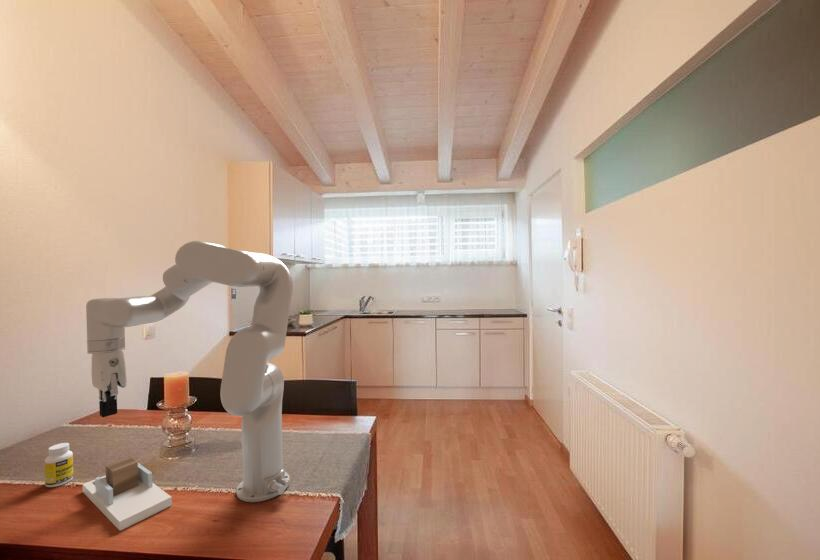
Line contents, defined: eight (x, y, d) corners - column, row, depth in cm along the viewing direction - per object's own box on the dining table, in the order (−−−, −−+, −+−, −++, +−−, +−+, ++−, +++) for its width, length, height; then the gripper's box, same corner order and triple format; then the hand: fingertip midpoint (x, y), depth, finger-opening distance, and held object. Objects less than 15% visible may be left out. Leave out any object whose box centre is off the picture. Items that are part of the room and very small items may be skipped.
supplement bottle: (55, 489, 92) (54, 451, 92) (39, 487, 93) (38, 450, 93) (79, 477, 97) (77, 442, 97) (63, 475, 98) (62, 440, 98)
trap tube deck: (172, 505, 84) (171, 482, 84) (119, 530, 76) (119, 505, 75) (130, 473, 98) (129, 453, 98) (82, 491, 90) (82, 470, 90)
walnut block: (138, 485, 89) (137, 462, 89) (113, 496, 85) (112, 471, 84) (130, 479, 91) (130, 456, 91) (106, 489, 87) (105, 465, 87)
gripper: (135, 345, 91) (136, 416, 91) (114, 340, 99) (116, 405, 100) (97, 350, 85) (99, 426, 85) (78, 345, 93) (80, 413, 93)
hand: (108, 414), depth 92 cm, fingers closed
